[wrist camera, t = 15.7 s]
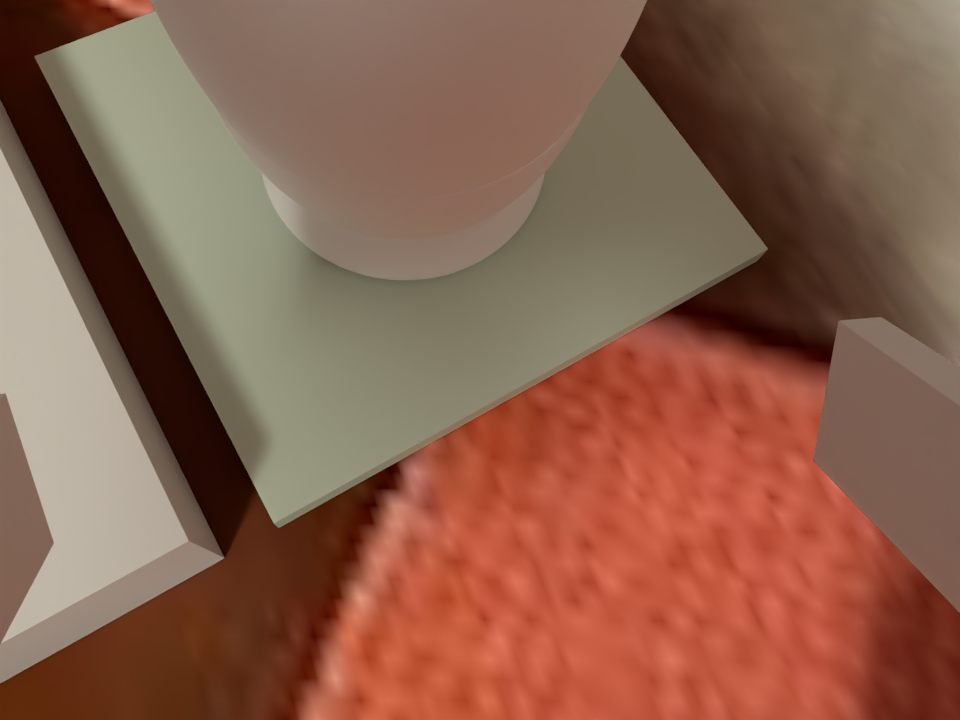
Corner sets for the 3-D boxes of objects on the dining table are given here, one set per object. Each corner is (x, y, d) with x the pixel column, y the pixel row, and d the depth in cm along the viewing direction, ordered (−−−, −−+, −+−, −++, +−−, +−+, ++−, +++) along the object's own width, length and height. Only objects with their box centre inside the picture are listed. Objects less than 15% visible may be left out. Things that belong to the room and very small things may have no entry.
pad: (45, 74, 25) (34, 56, 24) (488, -95, 28) (490, -114, 28) (278, 527, 21) (273, 523, 20) (757, 261, 24) (767, 248, 24)
